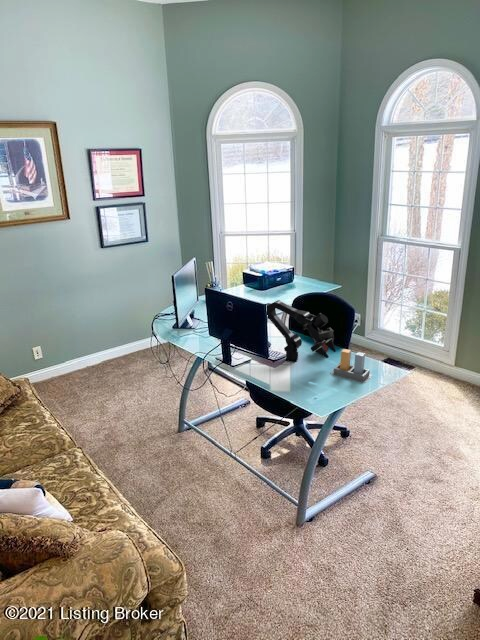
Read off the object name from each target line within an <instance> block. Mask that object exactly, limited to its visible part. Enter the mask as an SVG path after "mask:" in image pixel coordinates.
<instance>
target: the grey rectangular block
mask: <svg viewBox="0 0 480 640" xmlns="http://www.w3.org/2000/svg"><path fill="white" fill-rule="evenodd" d="M365 359H366V353H365V352H360V351H359V352H358V351H357V352H356V353H355V354H354V364H353V366H354V373H357V374H360V375H363V372H364V369H365Z"/></svg>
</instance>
